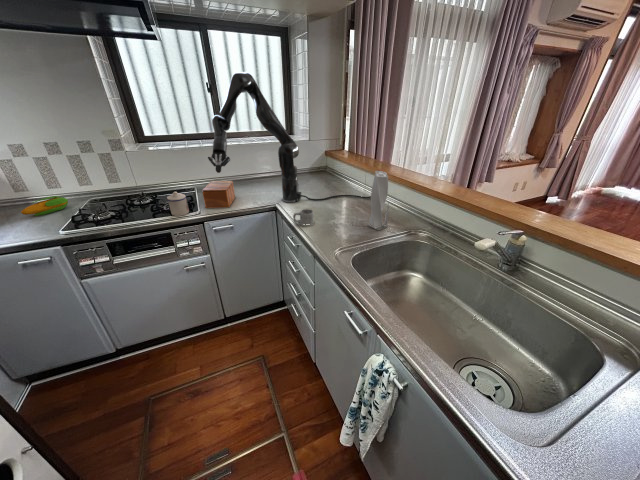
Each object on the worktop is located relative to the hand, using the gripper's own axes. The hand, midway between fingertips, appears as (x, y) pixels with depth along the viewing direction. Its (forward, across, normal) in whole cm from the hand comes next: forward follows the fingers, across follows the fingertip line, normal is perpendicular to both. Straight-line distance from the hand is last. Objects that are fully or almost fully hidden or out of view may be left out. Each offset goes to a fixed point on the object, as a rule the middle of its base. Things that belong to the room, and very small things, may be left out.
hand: (218, 172), depth 154 cm
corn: (+23, -87, +1) cm, 90 cm away
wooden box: (+15, 0, +9) cm, 17 cm away
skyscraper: (+42, +84, -17) cm, 95 cm away
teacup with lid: (+25, -19, -1) cm, 31 cm away
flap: (+5, 0, +5) cm, 7 cm away
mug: (+38, +48, -14) cm, 63 cm away
